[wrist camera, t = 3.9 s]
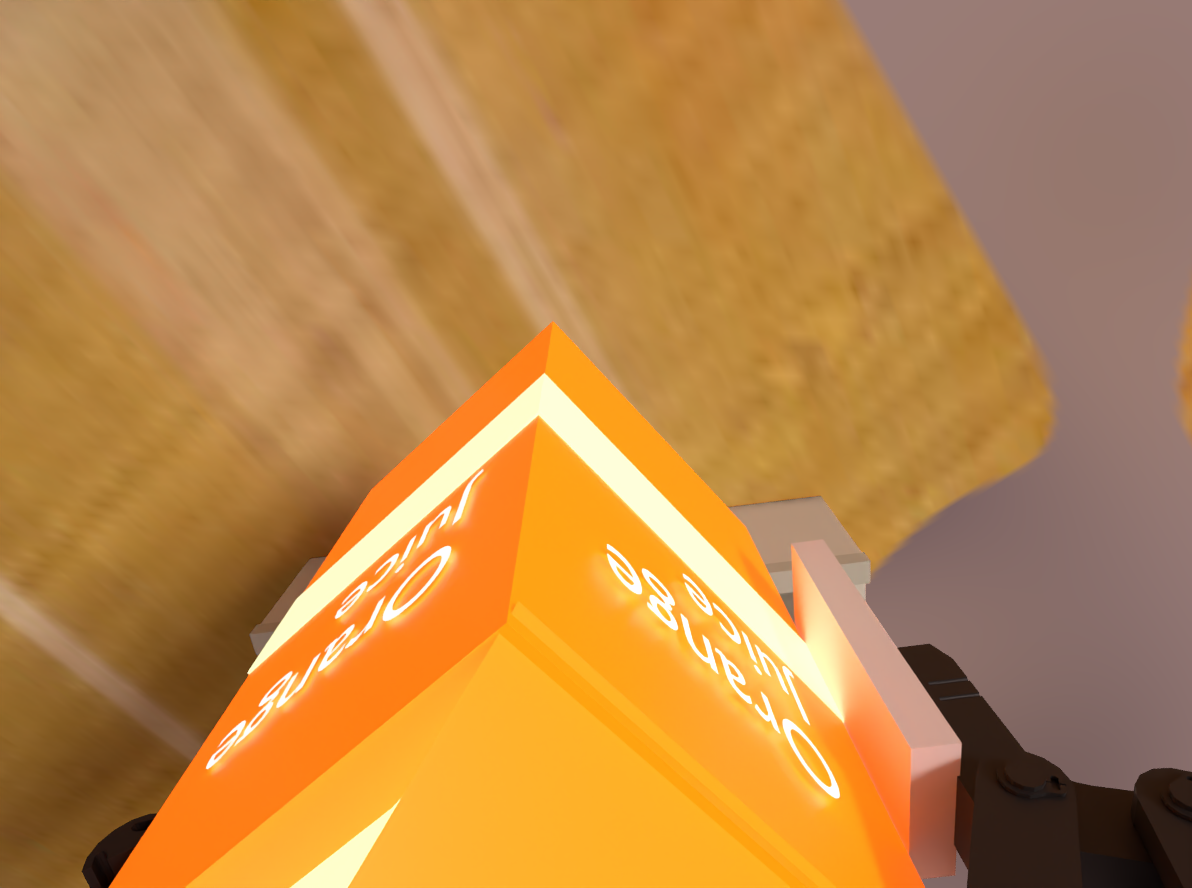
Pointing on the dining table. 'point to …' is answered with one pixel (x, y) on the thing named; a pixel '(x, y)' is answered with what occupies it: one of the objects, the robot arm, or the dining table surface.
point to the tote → (764, 521)
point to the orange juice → (532, 684)
